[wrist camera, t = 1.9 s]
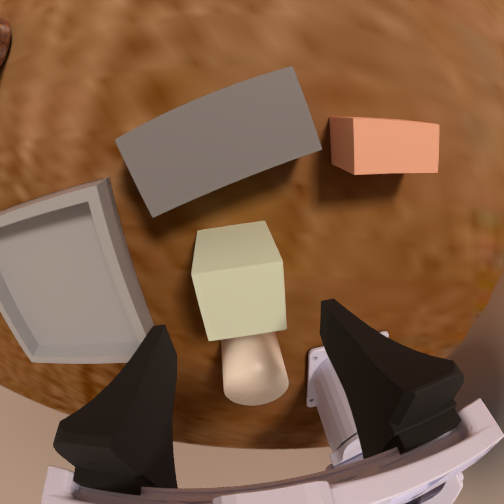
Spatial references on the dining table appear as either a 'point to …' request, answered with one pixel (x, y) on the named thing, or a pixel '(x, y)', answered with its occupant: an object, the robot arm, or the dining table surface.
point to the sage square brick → (239, 281)
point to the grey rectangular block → (219, 140)
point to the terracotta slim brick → (383, 145)
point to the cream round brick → (253, 369)
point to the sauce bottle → (4, 39)
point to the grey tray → (71, 278)
